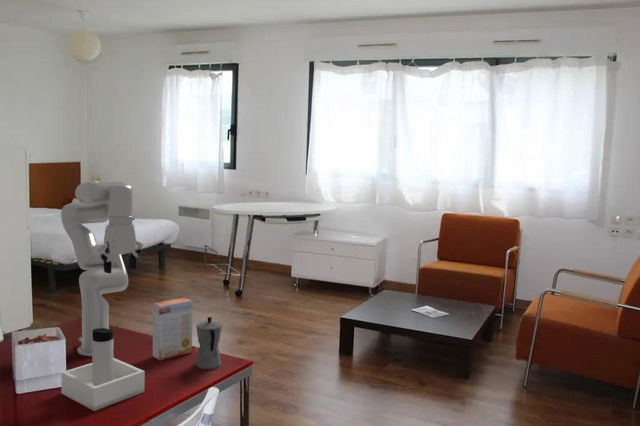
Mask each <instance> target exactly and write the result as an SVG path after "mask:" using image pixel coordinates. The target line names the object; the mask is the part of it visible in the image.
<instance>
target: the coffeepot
mask: <svg viewBox="0 0 640 426" xmlns="http://www.w3.org/2000/svg"><path fill="white" fill-rule="evenodd" d="M212 319H213V317H211V316H207V320H203V321H202V322H198V323H197V324H196V334H197V340H198V341H197V342H198V344H199V348H198V351H197V355H196V356H197V357H196V362H195V366H196V367H197V368H199V369H202V370H213V369H214V370H215V369H217V368H219V367H220V366H221V364H222V360H221V353H220V347H219V343H220V339H221V334H222V329H223V324H222V323H221V322H219V321H212Z"/></svg>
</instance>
